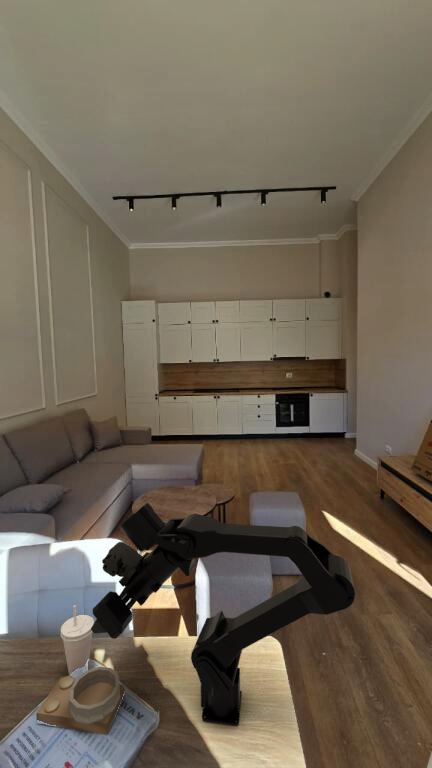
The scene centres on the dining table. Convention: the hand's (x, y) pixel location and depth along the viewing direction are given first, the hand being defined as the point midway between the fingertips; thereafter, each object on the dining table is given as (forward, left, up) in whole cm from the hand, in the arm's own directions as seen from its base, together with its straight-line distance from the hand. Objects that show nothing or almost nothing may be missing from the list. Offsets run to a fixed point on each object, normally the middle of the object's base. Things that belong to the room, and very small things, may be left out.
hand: (106, 614), depth 71 cm
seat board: (+2, +7, -13) cm, 15 cm away
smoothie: (+7, -1, -13) cm, 15 cm away
